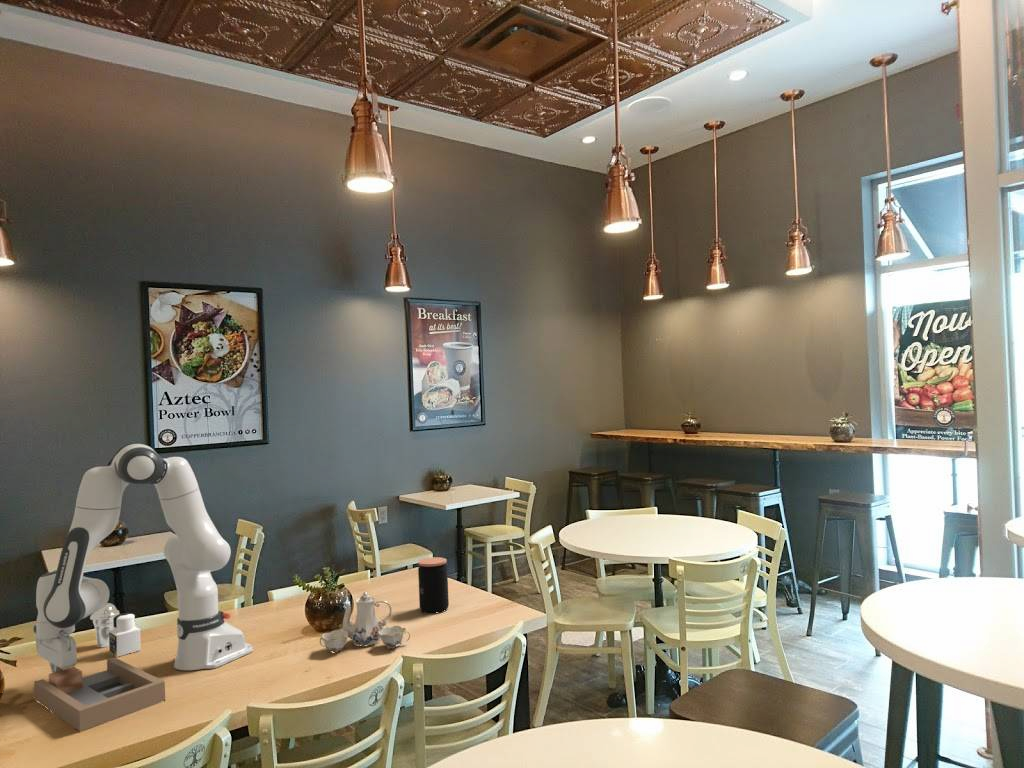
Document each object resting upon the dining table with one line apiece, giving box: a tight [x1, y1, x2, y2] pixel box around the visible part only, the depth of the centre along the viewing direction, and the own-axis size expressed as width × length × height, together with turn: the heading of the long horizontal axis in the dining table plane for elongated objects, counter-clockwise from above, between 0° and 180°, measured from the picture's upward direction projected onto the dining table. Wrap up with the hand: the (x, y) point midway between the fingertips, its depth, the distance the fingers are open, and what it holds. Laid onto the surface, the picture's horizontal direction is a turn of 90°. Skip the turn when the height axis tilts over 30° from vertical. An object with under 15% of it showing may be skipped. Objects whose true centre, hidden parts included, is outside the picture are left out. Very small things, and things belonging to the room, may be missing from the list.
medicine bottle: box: [108, 612, 142, 658], centre depth 214 cm, size 7×7×12 cm
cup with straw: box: [89, 602, 121, 648], centre depth 222 cm, size 8×9×20 cm
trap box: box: [33, 656, 166, 733], centre depth 178 cm, size 20×32×5 cm, turn 52°
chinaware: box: [319, 591, 411, 652], centre depth 210 cm, size 28×17×17 cm, turn 101°
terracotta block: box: [48, 666, 83, 693], centre depth 181 cm, size 6×6×4 cm
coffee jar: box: [417, 556, 450, 614], centre depth 244 cm, size 11×11×18 cm
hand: (57, 677), depth 186 cm, fingers closed
